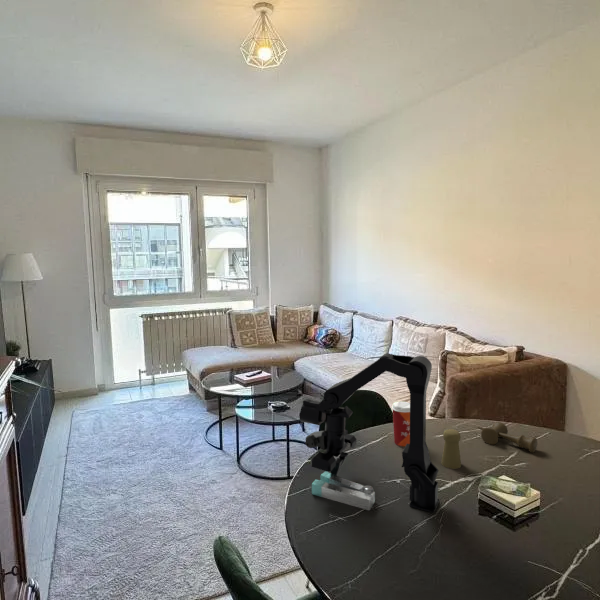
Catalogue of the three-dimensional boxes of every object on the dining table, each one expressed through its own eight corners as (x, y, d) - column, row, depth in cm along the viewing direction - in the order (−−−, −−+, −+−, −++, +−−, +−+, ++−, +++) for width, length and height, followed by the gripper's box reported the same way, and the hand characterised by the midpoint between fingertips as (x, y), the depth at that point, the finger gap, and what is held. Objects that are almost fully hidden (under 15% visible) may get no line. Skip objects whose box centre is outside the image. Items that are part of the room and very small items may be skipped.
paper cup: (408, 449, 151) (408, 410, 150) (387, 444, 156) (387, 405, 154) (417, 441, 158) (418, 403, 156) (397, 436, 162) (397, 399, 160)
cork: (458, 459, 144) (459, 427, 142) (463, 469, 138) (464, 435, 136) (439, 459, 144) (440, 426, 143) (443, 468, 138) (444, 434, 137)
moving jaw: (363, 495, 124) (363, 485, 124) (358, 500, 122) (358, 489, 121) (325, 481, 132) (325, 471, 132) (320, 485, 130) (320, 475, 130)
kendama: (529, 458, 145) (470, 438, 159) (540, 450, 151) (482, 431, 166) (531, 441, 144) (471, 422, 159) (541, 433, 151) (484, 416, 165)
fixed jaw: (376, 499, 122) (376, 487, 122) (369, 510, 117) (369, 498, 116) (321, 484, 130) (321, 473, 130) (311, 494, 125) (311, 482, 125)
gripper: (325, 410, 141) (324, 456, 143) (294, 433, 125) (294, 485, 127) (357, 418, 135) (356, 466, 138) (330, 443, 119) (329, 497, 122)
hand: (334, 477), depth 131 cm, fingers closed
